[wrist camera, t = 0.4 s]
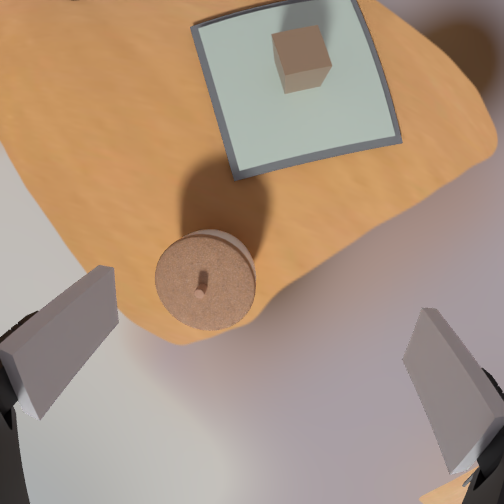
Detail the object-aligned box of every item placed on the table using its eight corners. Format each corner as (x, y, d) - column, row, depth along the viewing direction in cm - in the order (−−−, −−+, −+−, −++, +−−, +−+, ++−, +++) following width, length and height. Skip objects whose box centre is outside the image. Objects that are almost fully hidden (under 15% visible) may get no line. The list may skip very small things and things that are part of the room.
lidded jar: (252, 212, 37) (241, 232, 28) (267, 294, 40) (262, 334, 32) (167, 227, 39) (136, 250, 30) (188, 303, 42) (165, 342, 33)
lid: (199, 30, 30) (173, -3, 21) (347, -2, 27) (364, -41, 18) (240, 170, 35) (224, 178, 26) (393, 136, 32) (429, 133, 23)
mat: (192, 29, 31) (189, 27, 30) (350, -5, 27) (352, -9, 26) (235, 180, 36) (234, 181, 35) (399, 143, 33) (402, 143, 32)
